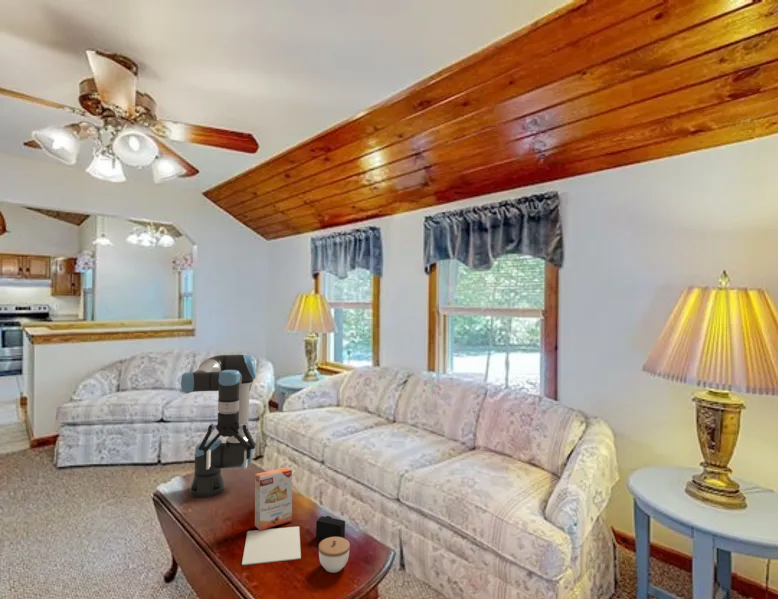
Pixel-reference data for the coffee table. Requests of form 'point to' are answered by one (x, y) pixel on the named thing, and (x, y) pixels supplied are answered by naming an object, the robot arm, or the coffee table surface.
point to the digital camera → (329, 528)
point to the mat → (272, 545)
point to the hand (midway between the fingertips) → (227, 467)
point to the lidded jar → (334, 553)
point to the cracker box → (273, 498)
